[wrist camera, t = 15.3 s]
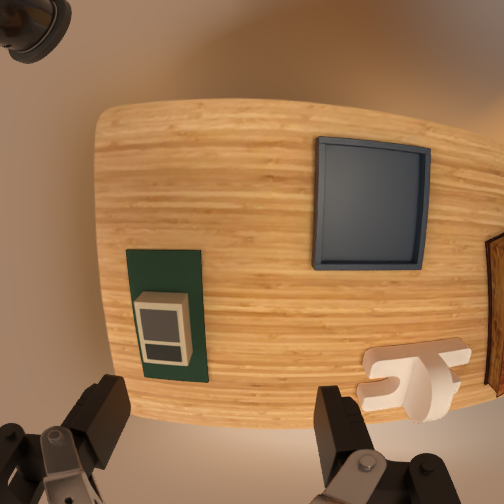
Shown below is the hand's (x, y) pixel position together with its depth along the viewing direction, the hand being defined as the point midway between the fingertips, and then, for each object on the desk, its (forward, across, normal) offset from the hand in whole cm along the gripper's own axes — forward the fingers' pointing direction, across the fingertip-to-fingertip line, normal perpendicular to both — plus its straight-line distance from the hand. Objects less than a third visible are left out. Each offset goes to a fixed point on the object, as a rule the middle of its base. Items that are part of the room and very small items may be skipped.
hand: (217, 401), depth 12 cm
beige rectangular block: (+28, +10, +11) cm, 32 cm away
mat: (+28, +10, +11) cm, 32 cm away
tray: (+28, -16, -5) cm, 32 cm away
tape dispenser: (+28, -26, +20) cm, 43 cm away
